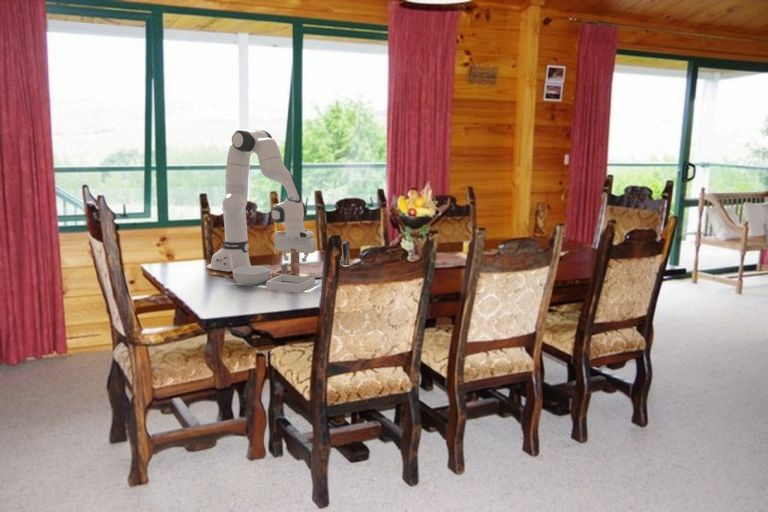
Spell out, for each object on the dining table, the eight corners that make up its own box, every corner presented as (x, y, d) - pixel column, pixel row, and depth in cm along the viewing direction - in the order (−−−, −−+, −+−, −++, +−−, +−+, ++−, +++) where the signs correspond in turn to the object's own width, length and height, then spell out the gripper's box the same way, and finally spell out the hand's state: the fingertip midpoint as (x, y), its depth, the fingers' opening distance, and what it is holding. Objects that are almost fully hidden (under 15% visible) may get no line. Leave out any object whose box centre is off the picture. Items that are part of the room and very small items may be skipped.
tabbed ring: (271, 277, 334) (270, 248, 331) (280, 273, 342) (279, 245, 339) (293, 279, 330) (292, 249, 327) (301, 275, 339) (301, 246, 336)
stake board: (268, 279, 333) (268, 265, 332) (281, 273, 346) (281, 260, 344) (299, 282, 328) (299, 268, 327) (311, 276, 340) (310, 262, 339)
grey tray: (266, 289, 314) (266, 281, 313) (281, 282, 328) (281, 274, 327) (300, 292, 309) (300, 284, 308) (315, 285, 322) (315, 277, 322)
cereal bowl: (229, 281, 328) (229, 267, 327) (264, 278, 335) (264, 264, 333) (237, 290, 313) (236, 274, 312) (273, 286, 319) (273, 271, 318)
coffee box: (345, 276, 340) (345, 244, 337) (332, 276, 342) (332, 243, 338) (350, 272, 349) (350, 241, 346) (337, 272, 350) (337, 240, 347)
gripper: (271, 232, 331) (272, 260, 334) (311, 234, 324) (311, 263, 327) (278, 230, 337) (278, 258, 340) (317, 232, 330) (317, 261, 333)
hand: (295, 261), depth 333 cm, fingers open, 8 cm apart
